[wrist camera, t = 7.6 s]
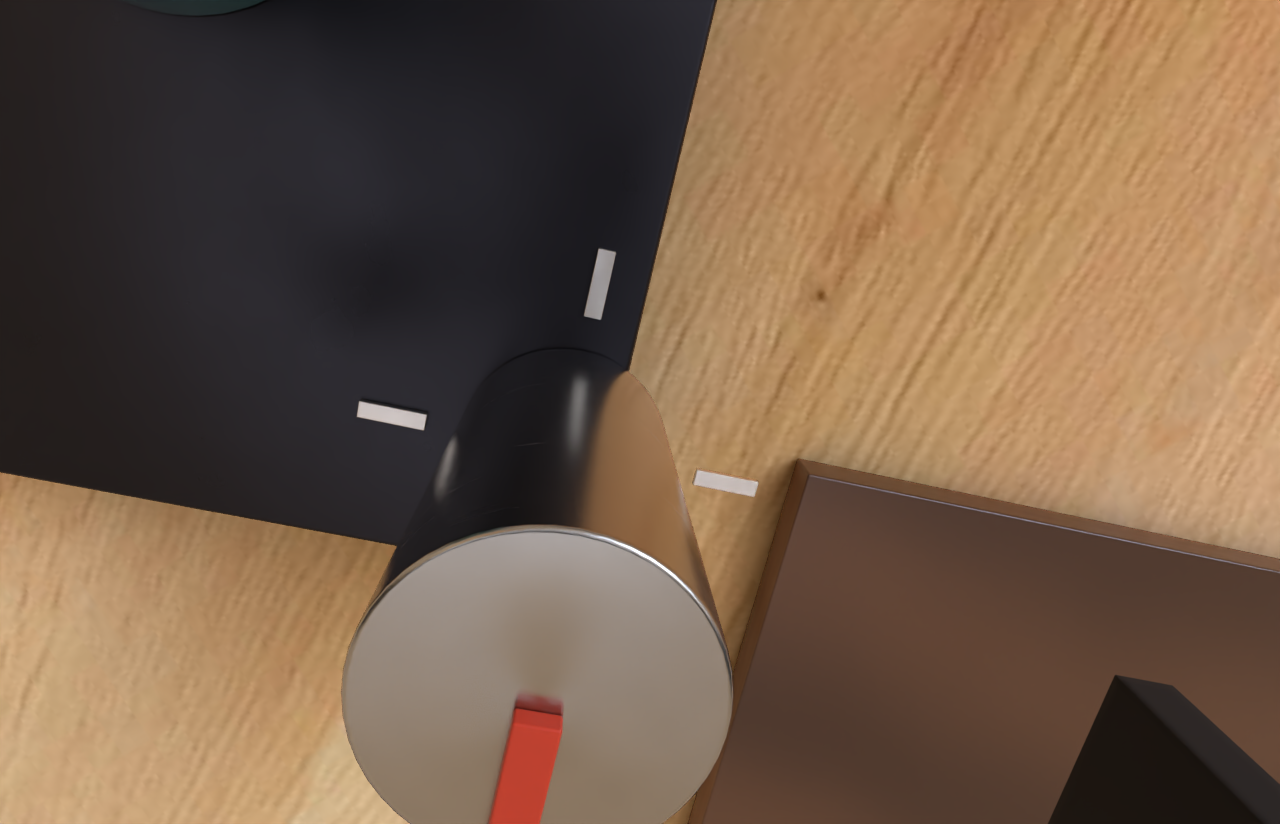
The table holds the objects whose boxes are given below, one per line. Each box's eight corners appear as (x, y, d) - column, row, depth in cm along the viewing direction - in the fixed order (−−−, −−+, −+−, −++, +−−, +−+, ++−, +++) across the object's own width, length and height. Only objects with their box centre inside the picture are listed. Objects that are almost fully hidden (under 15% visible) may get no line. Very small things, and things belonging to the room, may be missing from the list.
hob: (40, -504, 16) (-91, -662, 13) (919, -227, 18) (988, -307, 15) (3, 466, 21) (-98, 517, 18) (691, 594, 23) (707, 660, 20)
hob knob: (479, 326, 17) (363, 499, 8) (687, 373, 18) (786, 581, 9) (441, 522, 18) (306, 857, 10) (639, 560, 19) (684, 910, 10)
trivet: (797, 457, 22) (808, 473, 21) (1344, 572, 24) (1383, 592, 23) (651, 943, 26) (654, 979, 25) (1126, 1007, 28) (1150, 1044, 27)
